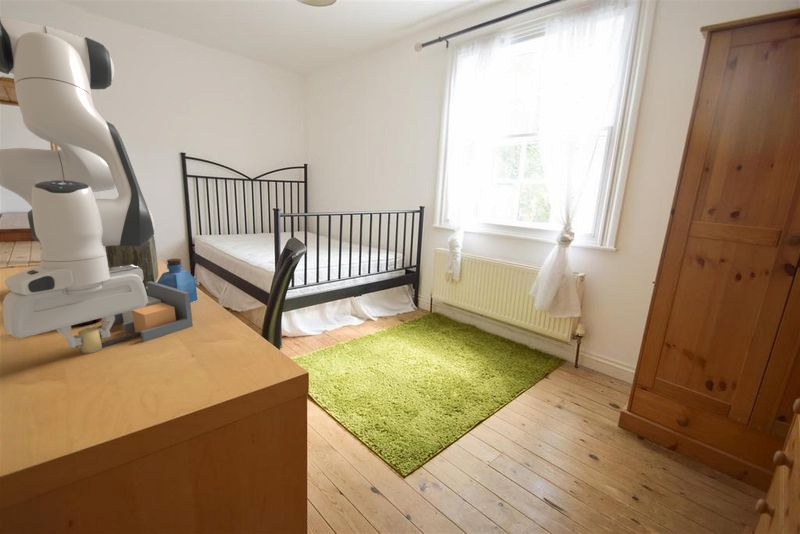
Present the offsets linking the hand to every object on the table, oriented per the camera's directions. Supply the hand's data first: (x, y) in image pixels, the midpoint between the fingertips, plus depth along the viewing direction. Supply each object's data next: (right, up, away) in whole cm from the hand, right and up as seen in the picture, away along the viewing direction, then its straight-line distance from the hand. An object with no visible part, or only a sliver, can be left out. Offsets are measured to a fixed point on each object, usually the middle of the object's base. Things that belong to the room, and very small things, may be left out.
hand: (90, 342), depth 67 cm
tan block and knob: (+3, 0, +6) cm, 7 cm away
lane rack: (+3, +1, +13) cm, 13 cm away
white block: (0, +2, +15) cm, 15 cm away
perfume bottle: (0, +4, +28) cm, 28 cm away
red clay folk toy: (-13, +2, +13) cm, 19 cm away
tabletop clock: (-14, +6, +32) cm, 35 cm away
